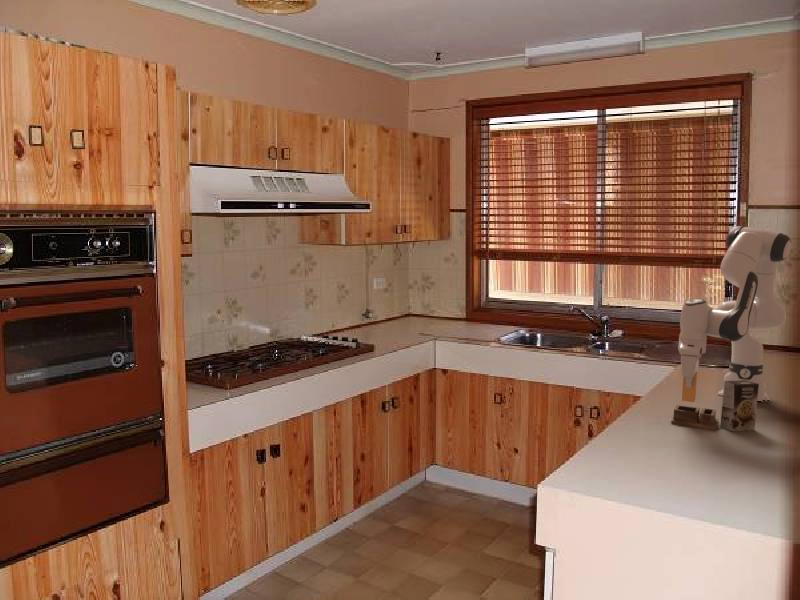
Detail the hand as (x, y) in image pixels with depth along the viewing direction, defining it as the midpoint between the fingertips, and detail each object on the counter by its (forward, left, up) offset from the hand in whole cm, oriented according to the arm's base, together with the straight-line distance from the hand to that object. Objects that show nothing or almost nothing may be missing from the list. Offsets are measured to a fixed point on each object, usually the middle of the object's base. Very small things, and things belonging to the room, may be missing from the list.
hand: (689, 385), depth 247 cm
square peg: (0, 0, -5) cm, 5 cm away
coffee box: (-1, +16, -13) cm, 21 cm away
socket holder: (0, +3, -13) cm, 13 cm away
